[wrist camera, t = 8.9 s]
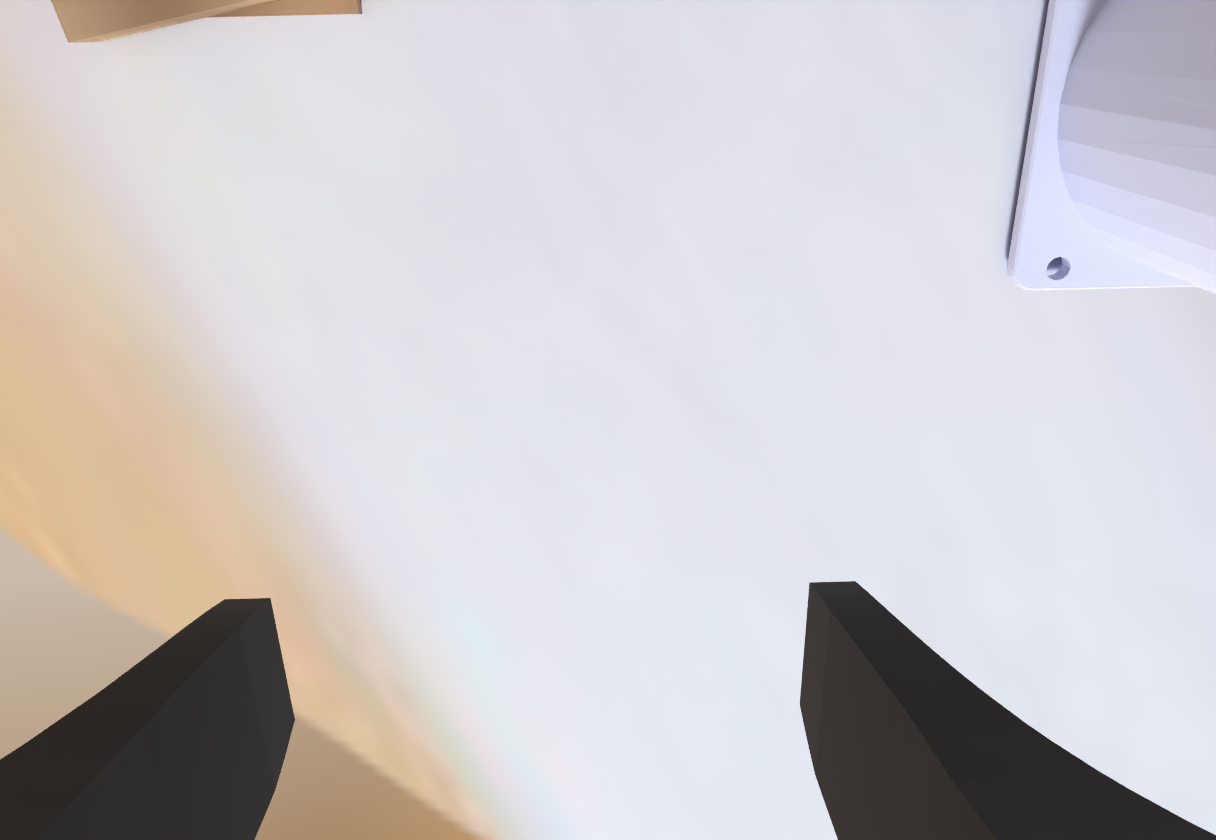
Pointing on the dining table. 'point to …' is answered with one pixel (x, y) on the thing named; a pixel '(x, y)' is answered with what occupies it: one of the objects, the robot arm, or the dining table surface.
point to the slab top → (135, 15)
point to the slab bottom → (298, 8)
